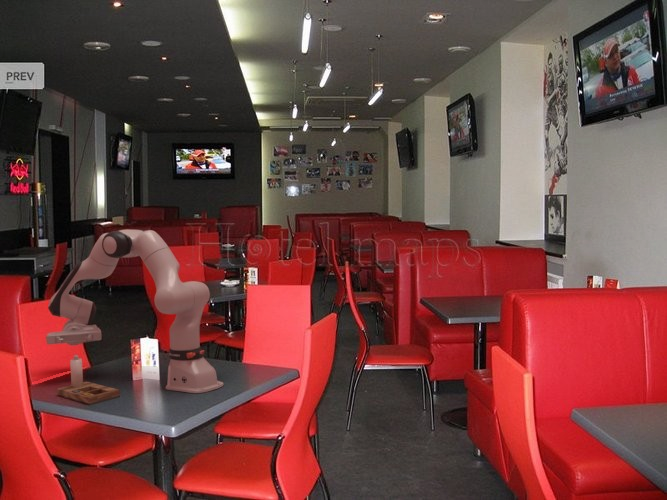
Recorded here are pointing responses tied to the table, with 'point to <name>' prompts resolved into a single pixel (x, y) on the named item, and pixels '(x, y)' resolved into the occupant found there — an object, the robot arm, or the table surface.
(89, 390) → the board
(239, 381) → the table surface
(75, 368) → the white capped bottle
